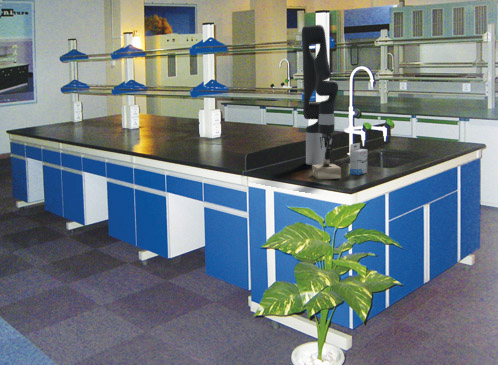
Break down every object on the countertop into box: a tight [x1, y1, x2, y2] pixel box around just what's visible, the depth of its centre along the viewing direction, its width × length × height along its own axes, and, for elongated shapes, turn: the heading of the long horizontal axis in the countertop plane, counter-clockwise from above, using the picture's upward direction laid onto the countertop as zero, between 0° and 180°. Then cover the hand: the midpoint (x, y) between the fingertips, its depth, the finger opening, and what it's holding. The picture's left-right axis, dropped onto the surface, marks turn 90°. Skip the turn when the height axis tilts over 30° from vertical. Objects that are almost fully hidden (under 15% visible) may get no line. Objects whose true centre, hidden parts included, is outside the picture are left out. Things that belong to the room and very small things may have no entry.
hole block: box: [311, 163, 342, 180], centre depth 293 cm, size 11×11×5 cm
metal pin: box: [323, 141, 331, 167], centre depth 291 cm, size 3×3×12 cm
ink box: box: [349, 142, 369, 176], centre depth 298 cm, size 9×5×15 cm, turn 136°
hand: (326, 158), depth 292 cm, fingers closed on metal pin, 3 cm apart
